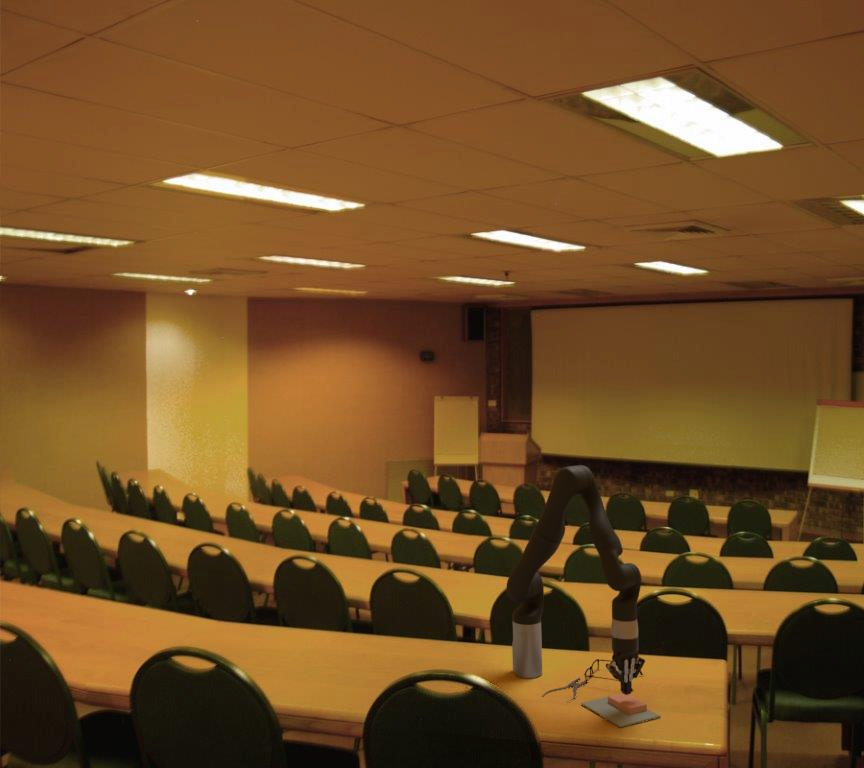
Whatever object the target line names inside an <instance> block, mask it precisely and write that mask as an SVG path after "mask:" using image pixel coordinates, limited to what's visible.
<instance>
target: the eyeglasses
mask: <svg viewBox="0 0 864 768" xmlns="http://www.w3.org/2000/svg"><path fill="white" fill-rule="evenodd" d="M600 662H611V660H608V659H599V658H598V659H595V660H594V661H593V662H592V664H591V665H590V667H588V668H587V669H586V670H585V672H584V674H583V675H584V678H585V680H586V684H588V683H589V681H588V682H587V679H588V677H589V679H590V678H591V679H592V678H595V679H604V680H610V681H611V680H612V681H617V682H619V683H621V682H620V681H619V680H617V679H615V678H614V679H613V678H607V677H601V676H593V674H595V671H594V669H593V666H594V664H595V663H597V670H598V671H599V668H600ZM597 670H596V671H597ZM588 671H589V675H587V673H588ZM639 674H640V676H641V675H643V676H644V673H643V672H642V670H641V671H640V672H639ZM632 690H634V689H633V688H632ZM632 690H631V692H633V691H632Z"/></svg>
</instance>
